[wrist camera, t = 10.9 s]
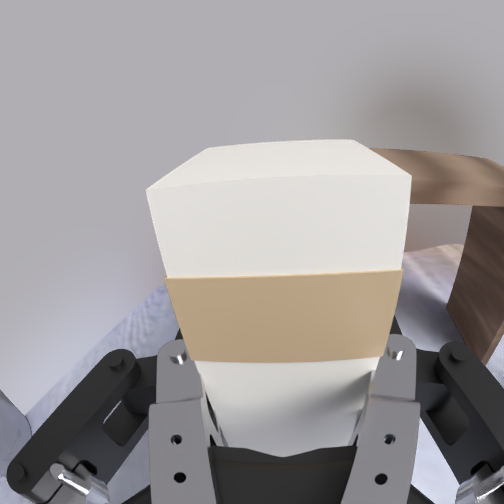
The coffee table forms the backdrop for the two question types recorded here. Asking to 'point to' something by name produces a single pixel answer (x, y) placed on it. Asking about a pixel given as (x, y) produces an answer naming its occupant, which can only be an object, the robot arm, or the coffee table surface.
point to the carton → (284, 282)
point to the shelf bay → (478, 236)
